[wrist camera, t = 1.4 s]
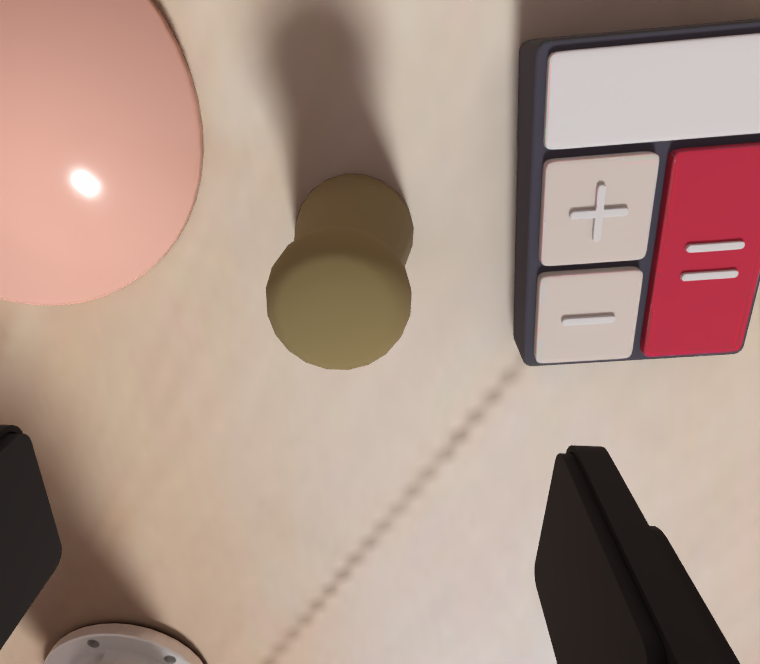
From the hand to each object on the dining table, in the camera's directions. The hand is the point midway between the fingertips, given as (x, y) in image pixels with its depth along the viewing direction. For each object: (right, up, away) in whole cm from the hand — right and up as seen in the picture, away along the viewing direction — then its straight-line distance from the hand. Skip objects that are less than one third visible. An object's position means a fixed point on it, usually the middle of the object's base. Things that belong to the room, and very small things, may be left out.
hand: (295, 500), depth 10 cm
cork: (0, +8, +19) cm, 20 cm away
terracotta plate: (-16, +13, +17) cm, 26 cm away
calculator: (+14, +10, +18) cm, 25 cm away
